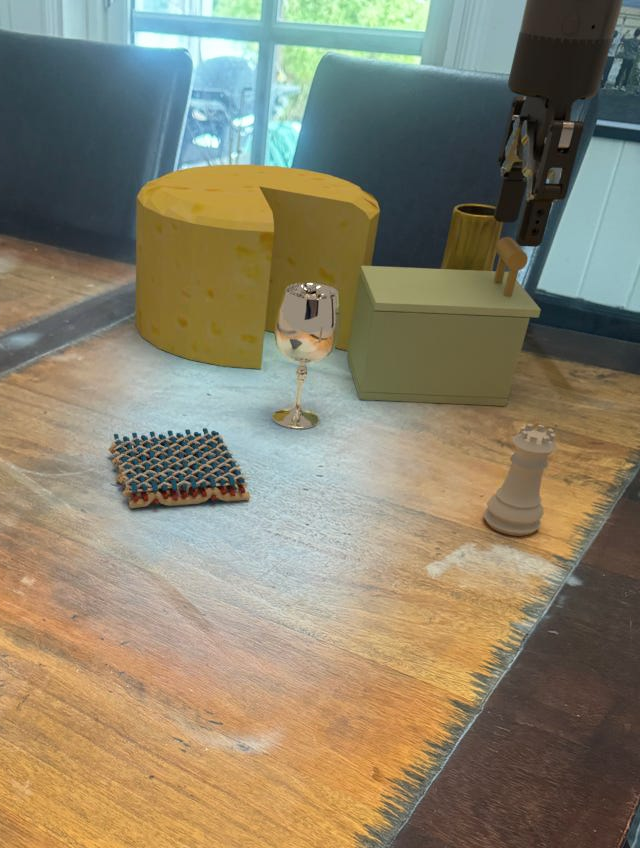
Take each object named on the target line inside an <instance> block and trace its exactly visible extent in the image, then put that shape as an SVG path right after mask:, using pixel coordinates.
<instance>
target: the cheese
mask: <svg viewBox="0 0 640 848" xmlns="http://www.w3.org/2000/svg"><path fill="white" fill-rule="evenodd" d="M380 214H381V210H380V206H379V202H378V201H377V199H376V198H375V196H374V195H373V194H370V193H369V192H367V191H365V190H363V189H362V188H361V186H359V185H357V184H355V183H352V182H351V181H348V180H345V179H342V178H340V177H337V176H333V175H331V174H327V173H323V172H317V171H313V170H309V169H303V168H294V167H285V166H278V165H263V164H262V165H261V164H216V165H215V164H214V165H213V164H212V165H205V166H204V165H203V166H194V167H193V166H192V167H189V168H184V169H179V170H174V171H172V172H168V173H165V174H163V175H162V176H161V177H158V178H155V179H153V180H150V181H147V182H146V183H145V184H144V185H143V186H142V187H141V188H140V190H139V192H138V194H137V195H136V223H135V225H136V226H135V227H136V230H135V232H136V233H135V234H136V235H135V243H136V244H135V304H134V305H135V306H134V307H135V310H134V314H135V315H134V316H135V317H134V324H135V327H136V329H137V330H138V333H139V335H140V336H141V338H143V339H144V340H146V341H147V342H149V343H150V344H151V345H152V346H154V347H156V348H157V349H159V350H161V351H164V352H167V353H170V354H172V355H174V356H178V357H181V358H183V359H186V360H190V361H194V362H195V361H196V362H200V363H206V364H210V365H214V366H219V367H228V368H229V367H230V368H243V369H255V370H257V369H258V370H261V369H262V362H263V361H262V360H263V351H264V342H265V341H264V340H265V332H270V333H273V334H275V323H276V318H277V314H278V310H279V306H280V303H281V300H282V298H283V295H284V292H285V289H286V287H288V286H290V285H292V284H297V283H316V284H322V285H326V286H330V287H332V288H334V289H336V290H337V291H338V294H339V305H340V330H339V336H338V340H337V343H336V346H335V348H334V349H338V350H343V351H346V352H348V345H349V339H350V332H351V326H352V319H353V313H354V306H355V300H356V293H357V287H358V280H359V274H360V267H361V266H372V263H373V256H374V251H375V244H376V238H377V232H378V226H379V220H380Z"/></svg>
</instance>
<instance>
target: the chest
mask: <svg viewBox="0 0 640 848" xmlns="http://www.w3.org/2000/svg"><path fill="white" fill-rule="evenodd" d="M530 318H531V317H513V316H490V315H467V314H444V313H421V312H398V311H375V310H374V308H373V305H372V303H371V300H370V298H369V295H368V293H367V290H366V288H365V285H364V283H363V280H362V278H361V275H360V274H359V280H358V287H357V293H356V300H355V306H354V313H353V319H352V326H351V332H350V339H349V345H348V351H346V358H347V361H348V365H349V368H350V371H351V375H352V378H353V381H354V385H355V389H356V392H357V395H358V398H359V400H360V401H361V400H363V401H364V400H365V401H385V402H386V401H387V402H408V403H409V402H410V403H426V404H427V403H428V404H429V403H430V404H449V405H451V404H453V405H471V406H472V405H475V406H496V407H506V406H507V405H508V401H509V398H510V393H511V389H512V385H513V383H514V380H515V379H514V378H515V375H516V372H517V367H518V363H519V360H520V357H521V353H522V349H523V345H524V341H525V338H526V334H527V330H528V326H529V323H530Z"/></svg>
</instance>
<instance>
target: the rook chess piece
mask: <svg viewBox="0 0 640 848" xmlns="http://www.w3.org/2000/svg"><path fill="white" fill-rule="evenodd" d="M545 427H546V425H543V424H538V425H537V428H536V429H533V428H534V425H533V423H528V424H527V423H526V424H525V426H523V425H522V426H521V427H520V429H519V432H518V433H516V434H515V435H514V436H513V437H512V439H511V441H512V444H513V446H514V449H515V451H514V453H513V454H511V455H510V457H509V459H510V462H511V463H510V468H509V470H508V472H507V475H506V477H505V479H504V482H503V484H502V485H501V486H500V487H499V488H498V489H496V491H495V493H494V494H492V495H491V496H490V498H489V499H488V501H487V503H486V505H487V507H486V508H485V509H484V511H483V516H484V519H485V522H486V524H487V525H488V526H489V527H490V528H491V529H493V530H494V531H496V532H498V533H500V534H504V535H508V536H515V537H522V536H523V537H524V536H528V535H531V534H532V533H534V532H536V531H537V530H540V527H541V525H542V521H541V519H542V517H543V515H544V513H545V512H544V507H543V505H542V503H541V502H542V498H541V484H542V478H543V474H544V470H545V469H546V468H547V467H548V466H549V462H548V456H550V455H551V454H552V453H554V452H555V451H556V450H557V448H558V446H557V443H556V441H555V437H556V433H555V431H554V430H553V429H552V428H548V429H547V430H546V431H545Z"/></svg>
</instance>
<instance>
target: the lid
mask: <svg viewBox="0 0 640 848" xmlns="http://www.w3.org/2000/svg"><path fill="white" fill-rule="evenodd" d="M496 255H498V262H497V264H496V265H497V266H496V269H495V271H494V270H492V271H475V270H452V269H441V268H425V267H424V268H423V267H403V266H402V267H401V266H381V265H380V266H379V265H378V266H377V265H371V266H361V267H360V275H361V278H362V280H363V283H364V285H365V288H366V290H367V293H368V295H369V298H370V300H371V303H372V305H373V308H374V310H375V311H398V312H421V313H444V314H467V315H490V316H513V317H529V318H537V319H538V318H540V315H541V311H542V310H541V307H539V306H538V304H537V303H536V302H535V300H534V299H533V298H532V297H531V296H530V294H529V293H528V292H527V291H526V289H525V288H524V287H523V286H522V284H521V283H520V282H519V281H518V274H519V271H521V270H523V269H524V268H525V267H526V265H527V263H528V259H529V258H528V255H527V252H525V251H524V250H523V249H522V248H521V246H520V245H518V243H517V242H516V240H514V239H513V238H512V237H510V236H504V237H501V238H500V239H499V241H498V242H497V244H496ZM507 267H508V271H506V269H507Z"/></svg>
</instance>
